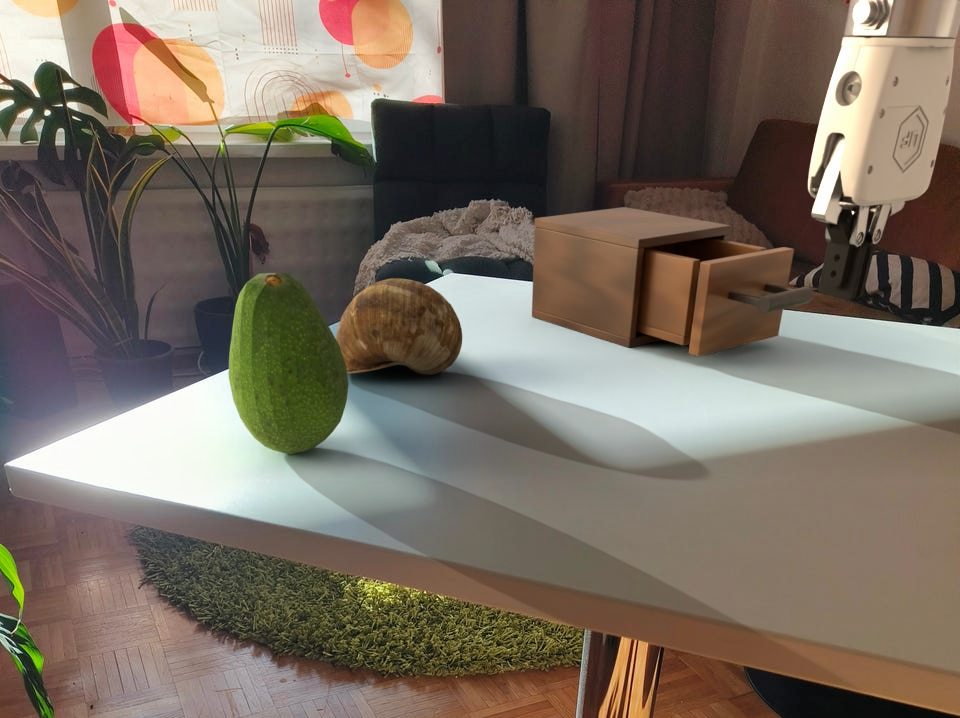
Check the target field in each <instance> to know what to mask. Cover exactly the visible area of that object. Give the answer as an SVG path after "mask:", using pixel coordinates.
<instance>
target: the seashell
mask: <svg viewBox="0 0 960 718" xmlns="http://www.w3.org/2000/svg"><path fill="white" fill-rule="evenodd" d="M335 339H336V340H337V342H338V344H339V346H340V349H341V352H342V355H343V357H344V360H345V363H346V368H347V374H359V373H366V372H371V371H377V370H380V369H385V368H389V367H393V366H394V367H395V366H398V365H402V366H406V367H407V368H408V369H410V370H411V371H413V372H415V373H417V374H420V375H425V376H432V375H436V374H439V373H441V372H443V371H446V370H447V369H449V368H450V367H451V366H452V365H453V364H454V363H455V362H456V360H457V359H458V357H459V355H460V353H461V349H462V345H463V329H462V325H461V322H460V319H459V316H458V315H457V312H456V311H455V309H454V307H453V305H452V304H451V302H449V301H448V300H447V298H446V297H444V296H443V295H442V294H441V293H440V292H438V291H437V290H435V289H434V288H433V287H431V286H430V285H427V284H425V283H423V282H420V281H416V280H412V279H406V278H386V279H383V280H379V281H376V282H374V283H372V284H370V285H368V286H366V288H364V289H363V290H361V291H360V292H359V293H358V294H357V295H355V297H354V298H353V299H352V300H351V302H350V303H348V305H347V307H346V308H345V310H344V312H343V313H342V316H341V318H340V320H339V323H338V325H337V329H336V335H335Z"/></svg>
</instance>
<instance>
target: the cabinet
mask: <svg viewBox="0 0 960 718" xmlns="http://www.w3.org/2000/svg"><path fill="white" fill-rule="evenodd" d="M731 229H732V225H730V224H725V223H720V222H719V223H718V222H713V221H707V220H701V219H696V218H690V217H684V216H679V215H678V216H677V215H672V214H666V213H660V212H654V211H649V210H643V209H637V208H633V207H632V208H631V207H627V206H623V207H613V208H607V209H597V210H591V211H589V210H588V211H581V212H575V213H573V212H572V213H565V214H559V215H557V214H556V215H550V216H549V215H548V216H541V217H534V234H533V235H534V236H533V263H532V264H533V265H532V266H533V267H532V269H533V271H532V298H531V306H532V307H531V317H532V318H535V319H537V320H541V321H545V322H548V323H551V324H553V325H557V326H560V327H563V328H566V329H569V330H573V331H575V332H578V333H581V334H585V335H588V336H591V337H594V338H597V339H601V340H604V341H607V342H610V343H613V344H617V345H620V346H623V347H625V348H633V347H637V346H641V345H646V344H650V343H653V342H658V341H659V342H660V341H664V340H663V339H660V338H656V337H653V336H650V335H646V334H643V333H640V332H636V326H637V315H638V305H639V295H640V284H641V274H642V264H643V253H644V248H647V247H653V246H659V245H665V244H672V243H678V242H684V241H691V240H697V239H703V238H709V237H711V238H716V239H721V240H727V241H730V235H731Z"/></svg>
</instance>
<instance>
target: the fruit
mask: <svg viewBox="0 0 960 718" xmlns="http://www.w3.org/2000/svg"><path fill="white" fill-rule="evenodd" d="M233 315H234V316H233V321H232V329H231V330H232V331H231V338H230V345H229V352H228V353H229V354H228V355H229V356H228V381H229V386H230V390H231V396H232V400H233V403H234V405H235V408H236V411H237V412H238V417H239V419H240V420H241V421H242V423H243V425H244V426H245V428H246V429H247V430H248V432H249V433H250V434H251V435H252V437H253V438H254V439H255V440H256V441H257V442H259V443H260V444H261V445H262V446H264V447H265V448H268V449H270V450H272V451H275V452H279V453H282V454H287V455H292V454H297V453H302V452H307V451H309V450H311V449H314V448H316V447H317V446H319V445H320V444H322V443H324V442H325V441H326V440H327V439H328V438H329V437H330V436H331V434H332V433H333V432H334V431H335V429H336V428H337V427H338V426H339V424H340V423H341V421H342V418H343V415H344V411H345V409H346V406H347V401H348V395H349V394H348V393H349V377H348V373H347V368H346V363H345V360H344V357H343V355H342V352H341V349H340V346H339V344H338V342H337V340H336V336H335V335H334V333H333V332H332V330H331V328H330V327H329V325H328V323H327V321H326V319H325V318H324V316H323V314H322V313H321V311H320V309H319V308H318V306H317V305H316V303H315V300H314V299H313V298H312V296H311V295H310V293H309V291H308V290H307V288H305V286H304V285H303V284H302V283H301V281H299V280H297V279H296V278H295V277H293V276H292V275H290V274H289V273H285V272H264V273H262V272H261V273H257V274H256V275H255V276H253V277H252V278H250V279H249V280H248V281H247V282H246V283H245V284H244V286H243V287H242V289H241V290H240V292H239V294H238V297H237V301H236V303H235V308H234V314H233Z"/></svg>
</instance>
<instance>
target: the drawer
mask: <svg viewBox="0 0 960 718" xmlns="http://www.w3.org/2000/svg"><path fill="white" fill-rule="evenodd" d="M794 253H795V248H791V247H786V246H783V247H776V248H771V249H767V248H766V247H764V246H757V245H753V244H749V243H748V244H747V243H743V242H738V241H733V240H732V241H731V240H729V241H727V240H721V239H716V238H711V237H709V238H703V239H697V240H691V241H684V242H678V243H672V244H665V245H659V246H653V247H647V248H644V253H643V264H642V274H641V284H640V295H639V305H638V315H637V326H636V332H640V333H643V334H646V335H650V336H653V337H656V338H660V339H663V340H662V341H666V342H669V343H673V344H677V345H680V346H687V345H689V346H688V347H689V348H688V354H689V355H693V356H695V357H701V356H705V355H709V354H713V353H716V352H721V351H725V350H729V349H732V348H736V347H741V346H744V345H748V344H752V343H756V342H759V341H764V340H768V339H773V338H775V337H778V336H779V334H780V327H781V323H782V317H783V311H784V310H785V309H789V308H793V307H798V306H801V305H806V304H809V303H811V302H812V301H813V299H814V290H813V289H812V288H811V287H810V286H803V287H797V288H790V287H788V284H789V279H790V273H791V269H792V263H793V258H794ZM698 270H699V278H698V285H697V293H696V301H695V308H694V316H693V323H691V322H692V314H693V307H694V299H695V291H696V284H697V276H698Z"/></svg>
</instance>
